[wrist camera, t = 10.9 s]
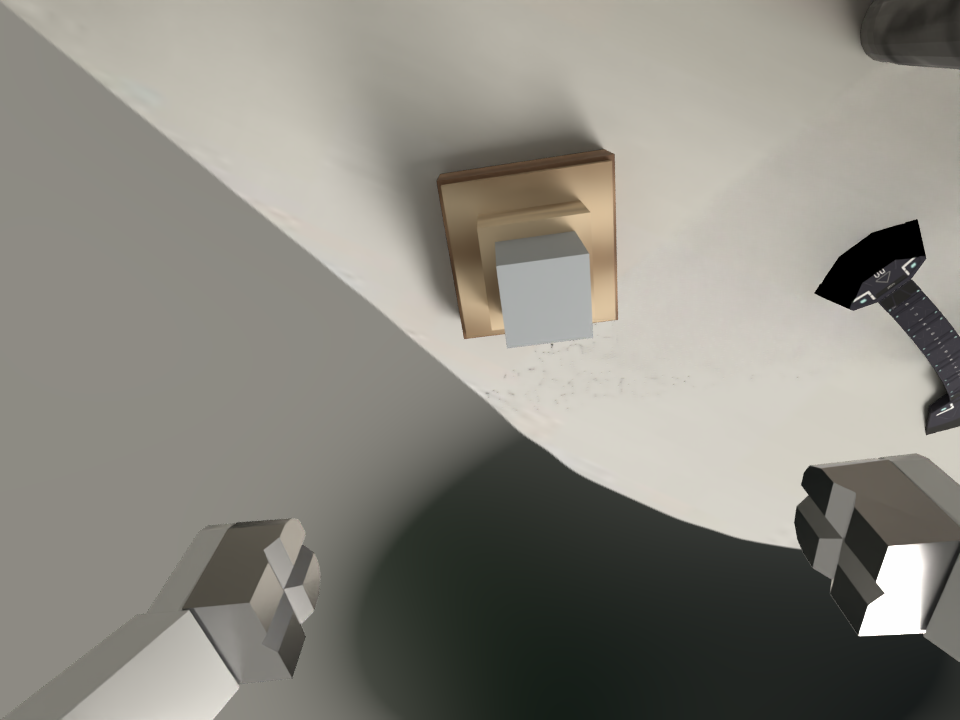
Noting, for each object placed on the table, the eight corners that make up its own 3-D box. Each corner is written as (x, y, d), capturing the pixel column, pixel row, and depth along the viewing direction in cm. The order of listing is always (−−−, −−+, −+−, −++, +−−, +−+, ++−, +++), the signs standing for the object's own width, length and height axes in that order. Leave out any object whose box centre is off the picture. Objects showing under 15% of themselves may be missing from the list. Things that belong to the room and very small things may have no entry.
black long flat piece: (899, 190, 39) (933, 199, 36) (1026, 388, 47) (1062, 408, 44) (791, 274, 42) (815, 287, 39) (927, 446, 50) (955, 468, 47)
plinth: (440, 173, 38) (435, 182, 34) (604, 149, 37) (616, 155, 33) (465, 321, 43) (463, 342, 40) (608, 303, 42) (619, 322, 39)
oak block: (477, 214, 35) (476, 228, 32) (580, 200, 35) (590, 212, 31) (491, 308, 38) (491, 330, 35) (584, 296, 38) (595, 317, 34)
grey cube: (494, 242, 32) (496, 266, 28) (575, 230, 32) (589, 253, 27) (504, 315, 34) (507, 348, 30) (579, 305, 34) (593, 337, 30)
